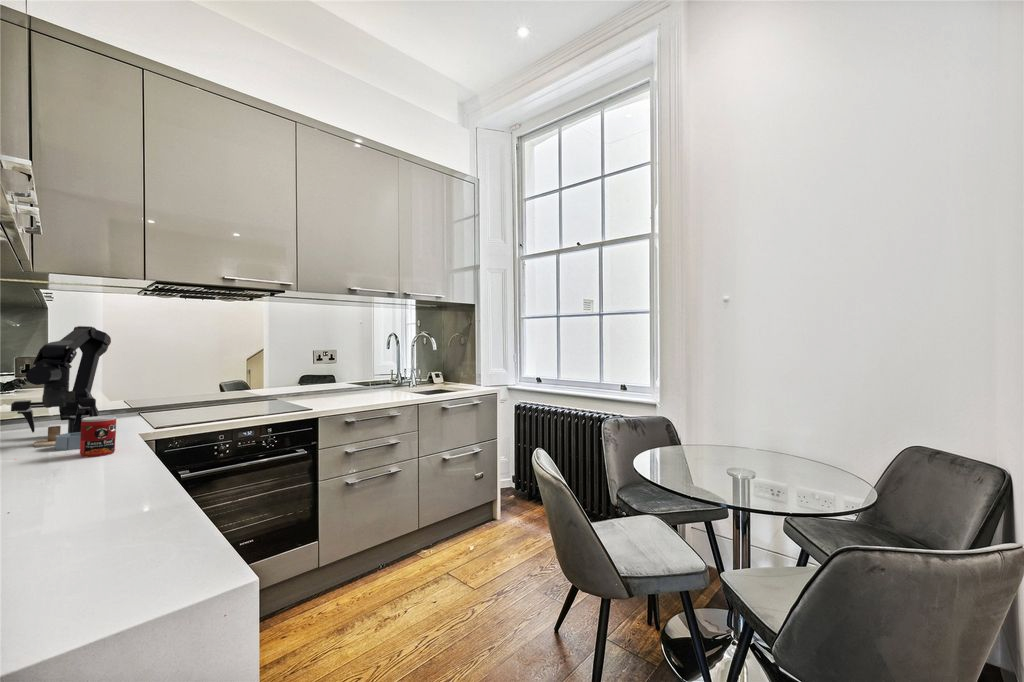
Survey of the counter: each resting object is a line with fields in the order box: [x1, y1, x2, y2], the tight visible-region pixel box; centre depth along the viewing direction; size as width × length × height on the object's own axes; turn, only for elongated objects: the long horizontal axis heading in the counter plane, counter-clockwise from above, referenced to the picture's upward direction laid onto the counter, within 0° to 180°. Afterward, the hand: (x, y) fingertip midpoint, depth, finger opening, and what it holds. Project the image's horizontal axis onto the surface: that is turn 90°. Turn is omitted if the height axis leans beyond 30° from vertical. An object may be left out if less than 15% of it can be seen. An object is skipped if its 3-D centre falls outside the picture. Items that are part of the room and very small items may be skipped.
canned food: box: [79, 415, 117, 458], centre depth 129 cm, size 8×8×11 cm
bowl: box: [54, 432, 81, 451], centre depth 136 cm, size 9×9×4 cm
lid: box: [33, 425, 62, 447], centre depth 140 cm, size 9×9×6 cm
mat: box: [34, 446, 52, 449], centre depth 140 cm, size 10×8×1 cm
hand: (54, 430), depth 140 cm, fingers open, 9 cm apart
